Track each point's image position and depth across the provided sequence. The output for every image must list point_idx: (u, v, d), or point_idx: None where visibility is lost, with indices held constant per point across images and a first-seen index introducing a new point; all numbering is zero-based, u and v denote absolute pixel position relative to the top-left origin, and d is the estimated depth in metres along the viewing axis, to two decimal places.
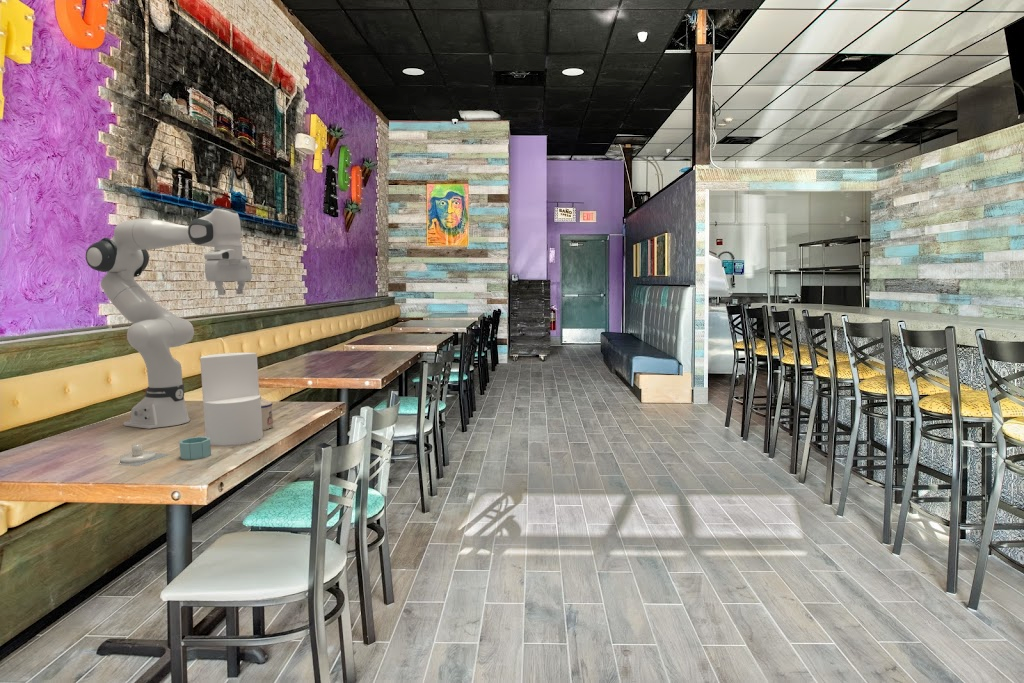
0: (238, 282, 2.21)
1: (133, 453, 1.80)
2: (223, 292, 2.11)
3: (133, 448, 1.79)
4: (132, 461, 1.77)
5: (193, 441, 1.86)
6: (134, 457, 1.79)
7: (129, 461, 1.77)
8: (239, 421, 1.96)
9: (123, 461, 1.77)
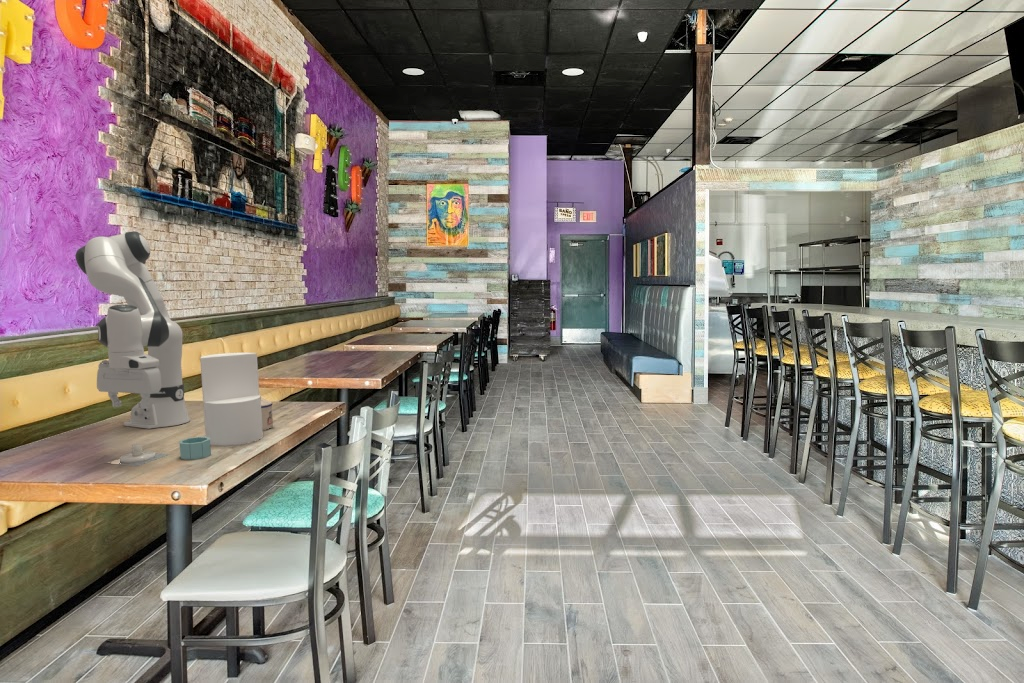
0: (113, 393, 1.80)
1: (133, 453, 1.80)
2: None
3: (133, 448, 1.79)
4: (132, 461, 1.77)
5: (193, 441, 1.86)
6: (134, 457, 1.79)
7: (129, 461, 1.77)
8: (239, 421, 1.96)
9: (123, 461, 1.77)
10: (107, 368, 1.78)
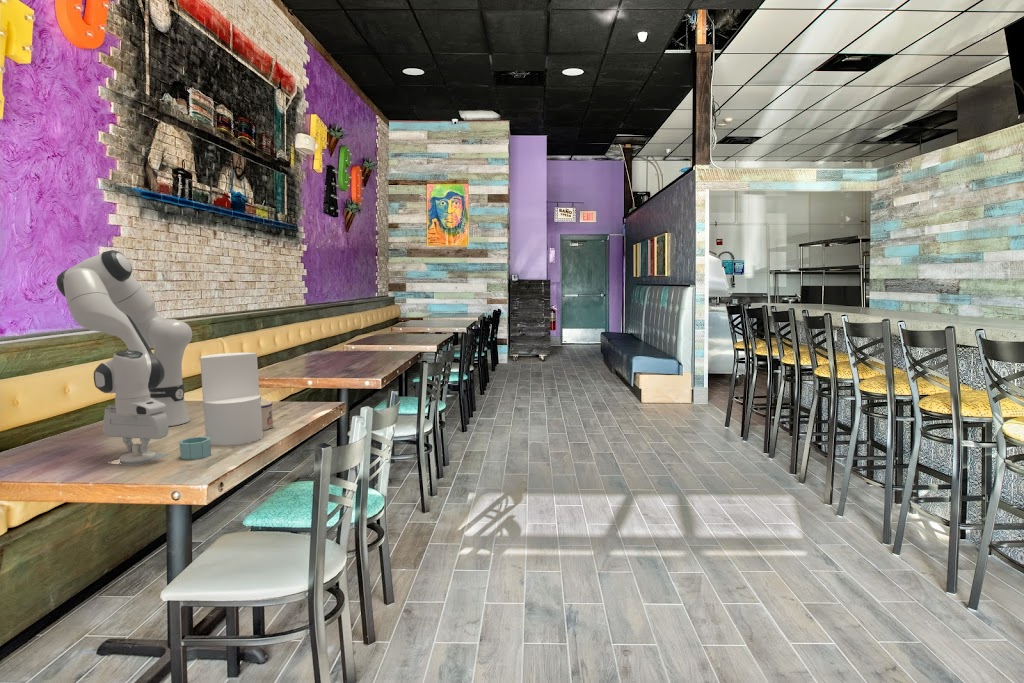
0: (127, 438, 1.80)
1: (133, 453, 1.80)
2: None
3: (133, 448, 1.79)
4: (132, 461, 1.77)
5: (193, 441, 1.86)
6: (134, 457, 1.79)
7: (129, 461, 1.77)
8: (239, 421, 1.96)
9: (123, 461, 1.77)
10: (114, 413, 1.79)
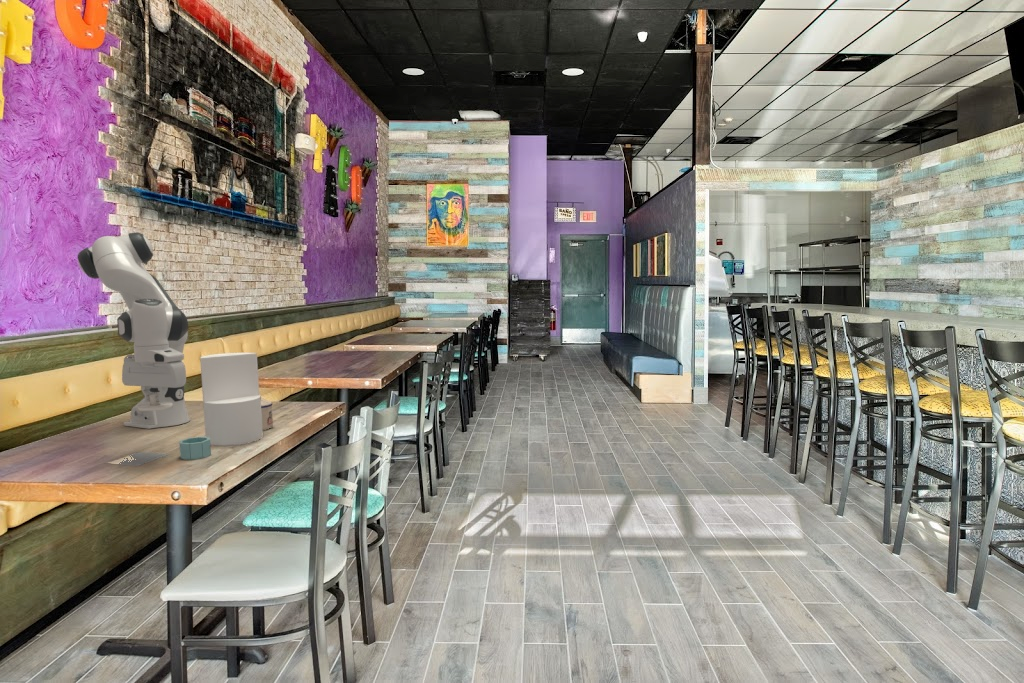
0: (145, 387, 1.79)
1: (151, 402, 1.78)
2: None
3: (151, 397, 1.78)
4: (149, 409, 1.75)
5: (193, 441, 1.86)
6: (151, 406, 1.77)
7: (146, 409, 1.75)
8: (239, 421, 1.96)
9: (140, 409, 1.75)
10: (132, 362, 1.78)
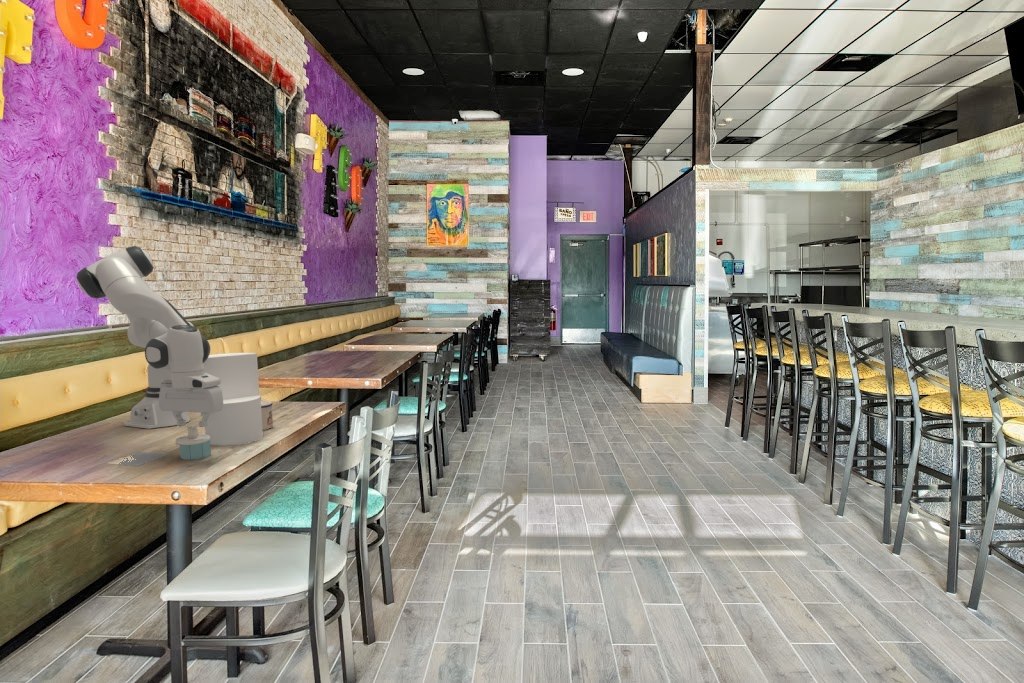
0: (177, 412, 1.82)
1: (189, 435, 1.80)
2: None
3: (189, 430, 1.80)
4: (189, 443, 1.77)
5: None
6: (190, 439, 1.80)
7: (186, 443, 1.77)
8: (239, 422, 1.96)
9: (180, 443, 1.78)
10: (169, 388, 1.80)
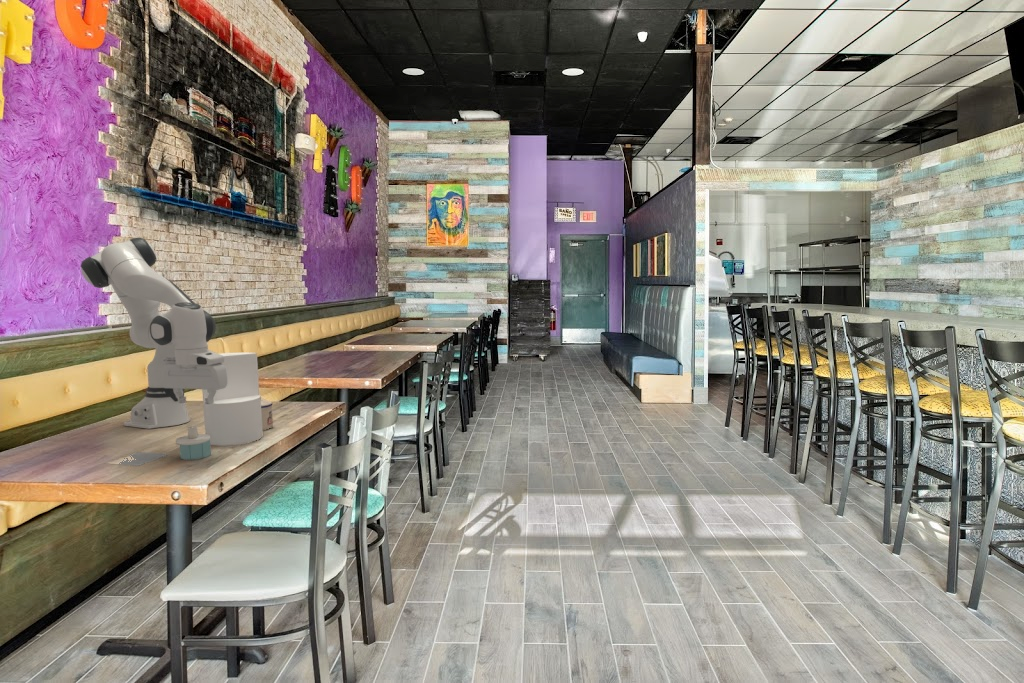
0: (178, 389, 1.83)
1: (189, 435, 1.80)
2: None
3: (189, 430, 1.80)
4: (189, 443, 1.77)
5: None
6: (190, 439, 1.80)
7: (186, 443, 1.77)
8: (239, 421, 1.96)
9: (180, 443, 1.78)
10: (172, 365, 1.81)
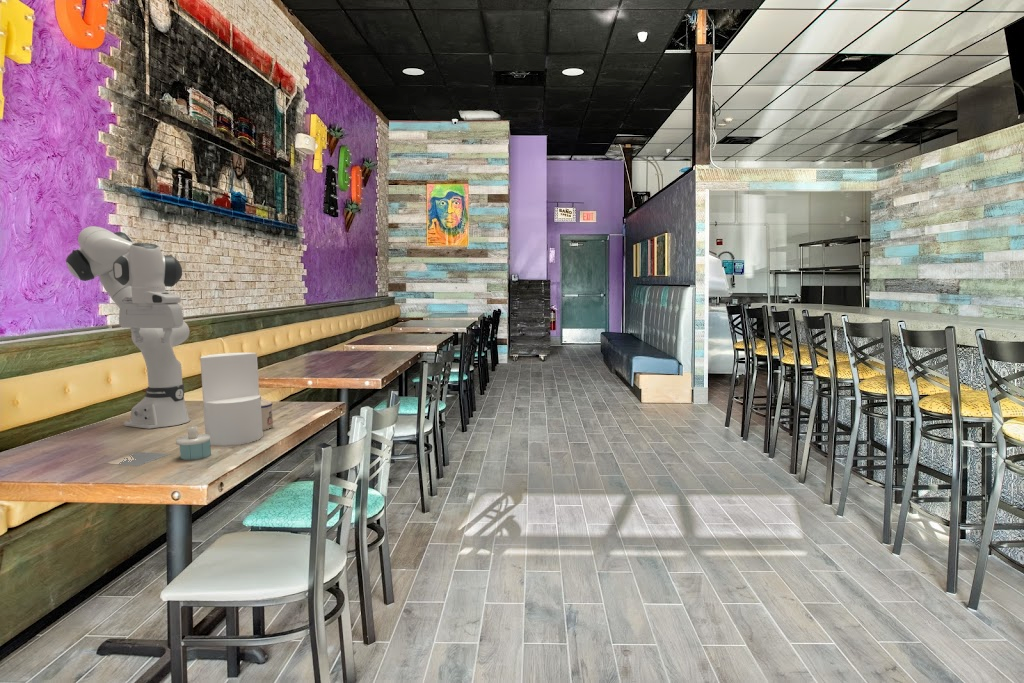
0: (135, 329, 1.86)
1: (189, 435, 1.80)
2: None
3: (189, 430, 1.80)
4: (189, 443, 1.77)
5: None
6: (190, 439, 1.80)
7: (186, 443, 1.77)
8: (239, 421, 1.96)
9: (180, 443, 1.78)
10: (130, 304, 1.84)
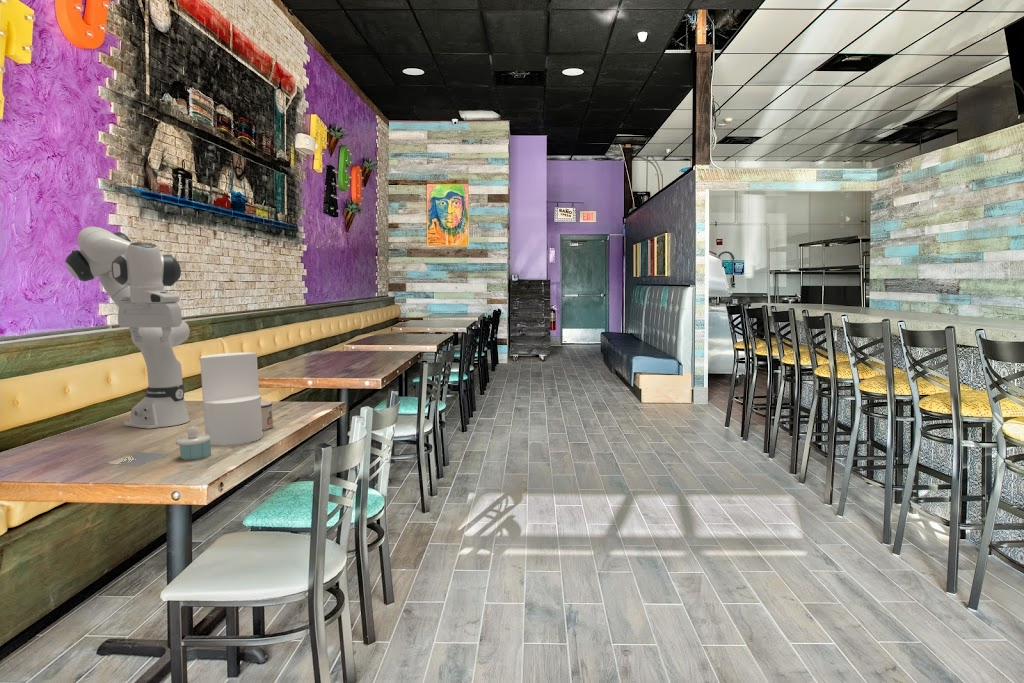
0: (134, 328, 1.86)
1: (189, 435, 1.80)
2: None
3: (189, 430, 1.80)
4: (189, 443, 1.77)
5: None
6: (190, 439, 1.80)
7: (186, 443, 1.77)
8: (239, 421, 1.96)
9: (180, 443, 1.78)
10: (128, 304, 1.84)
